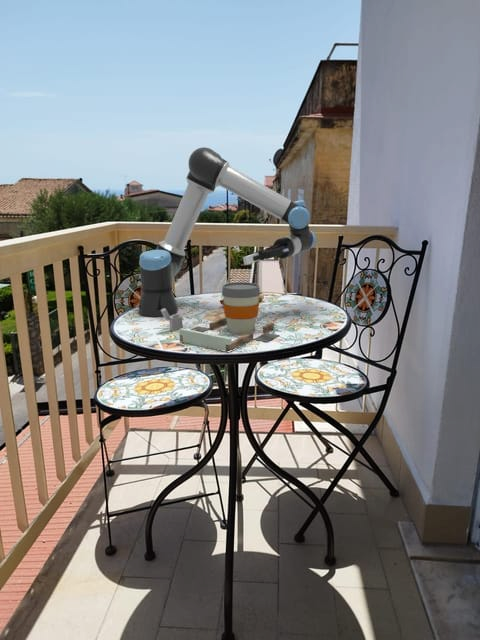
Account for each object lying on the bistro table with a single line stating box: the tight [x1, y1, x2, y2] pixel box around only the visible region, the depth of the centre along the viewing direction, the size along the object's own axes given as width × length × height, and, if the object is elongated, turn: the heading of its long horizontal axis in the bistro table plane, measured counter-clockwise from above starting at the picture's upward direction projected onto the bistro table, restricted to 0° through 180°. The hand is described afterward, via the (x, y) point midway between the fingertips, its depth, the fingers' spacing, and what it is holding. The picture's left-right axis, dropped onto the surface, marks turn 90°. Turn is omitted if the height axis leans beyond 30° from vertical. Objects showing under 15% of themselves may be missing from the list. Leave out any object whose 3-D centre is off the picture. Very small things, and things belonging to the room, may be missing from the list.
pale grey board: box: [178, 328, 233, 352], centre depth 126 cm, size 1×18×4 cm, turn 57°
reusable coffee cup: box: [221, 281, 261, 335], centre depth 141 cm, size 13×12×15 cm
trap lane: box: [179, 316, 280, 351], centre depth 137 cm, size 27×28×2 cm
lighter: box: [161, 308, 184, 332], centre depth 141 cm, size 7×2×8 cm, turn 126°
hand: (245, 261), depth 145 cm, fingers closed
